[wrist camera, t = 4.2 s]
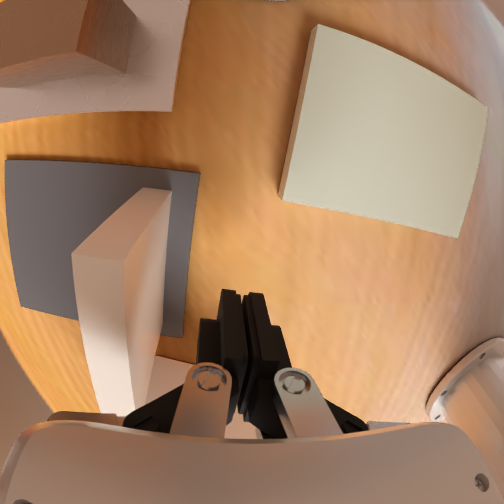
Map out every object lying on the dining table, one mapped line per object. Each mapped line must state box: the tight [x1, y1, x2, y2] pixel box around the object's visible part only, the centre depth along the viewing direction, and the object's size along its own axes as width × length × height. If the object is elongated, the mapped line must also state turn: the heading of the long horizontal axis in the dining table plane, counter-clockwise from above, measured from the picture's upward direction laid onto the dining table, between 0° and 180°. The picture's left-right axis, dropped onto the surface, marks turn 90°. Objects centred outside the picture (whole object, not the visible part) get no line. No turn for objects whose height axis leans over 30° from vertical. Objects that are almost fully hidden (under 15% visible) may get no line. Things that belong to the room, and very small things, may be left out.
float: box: [0, 0, 191, 123], centre depth 8 cm, size 12×7×6 cm, turn 83°
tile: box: [71, 187, 172, 416], centre depth 12 cm, size 2×8×8 cm, turn 170°
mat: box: [5, 159, 200, 338], centre depth 15 cm, size 12×10×1 cm
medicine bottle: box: [145, 356, 257, 439], centre depth 15 cm, size 7×7×12 cm
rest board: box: [278, 24, 488, 239], centre depth 14 cm, size 12×9×1 cm
